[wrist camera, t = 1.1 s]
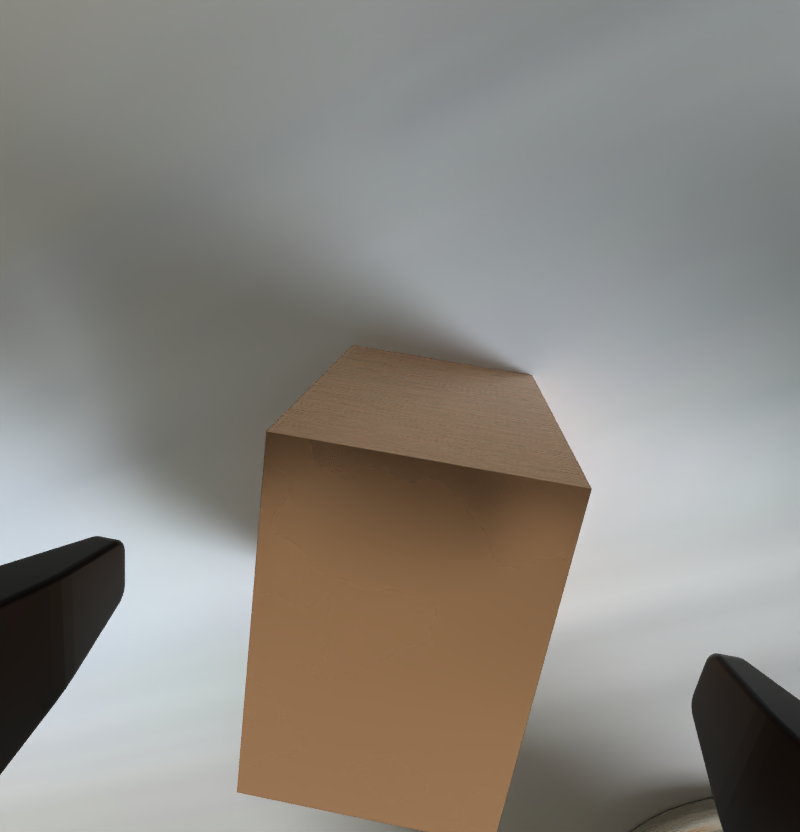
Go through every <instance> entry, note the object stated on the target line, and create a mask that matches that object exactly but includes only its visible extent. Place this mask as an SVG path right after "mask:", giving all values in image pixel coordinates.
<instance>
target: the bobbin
mask: <svg viewBox="0 0 800 832" xmlns="http://www.w3.org/2000/svg"><path fill="white" fill-rule="evenodd" d="M633 832H723V829H722V826H721V823H720V820H719V816H718V813H717V809H716V806H715V802H714V798H713V799H707V800H702V801H698V802H694V803H690V804H686V805H683V806H680V807H677V808H675V809H672V810H669V811H667V812H665V813H663V814H660V815H658V816H656V817H654V818H652V819H650V820H649V821H647V822H646V823H644V824H642V825H641V826H639V827H638V828H636V829H635V830H634V831H633Z"/></svg>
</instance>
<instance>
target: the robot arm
mask: <svg viewBox="0 0 800 832" xmlns="http://www.w3.org/2000/svg"><path fill="white" fill-rule="evenodd" d="M124 588H125V549H124V545H123V543H122V542H121V541H120V540H116V539H110V538H105V537H100V536H94V537H91V538H87V539H84V540H81V541H78V542H75V543H71V544H68V545H65V546H62V547H59V548H55V549H52V550H49V551H46V552H43V553H39V554H36V555H33V556H30V557H26V558H23V559H20V560H17V561H14V562H10V563H7V564H4V565H1V566H0V774H1V773H2V772H3V771H4V769H5V768H6V767H7V765H8V764H9V763H10V761H11V760H12V759H13V757H14V756H15V755H16V754H17V752H18V751H19V750H20V748H21V747H22V746H23V744H24V743H25V742H26V740H27V739H28V738H29V737H30V735H31V734H32V733H33V731H34V730H35V729H36V727H37V726H38V725H39V723H40V722H41V721H42V720H43V718H44V717H45V716H46V714H47V713H48V712H49V710H50V709H51V708H52V706H53V705H54V704H55V703H56V701H57V700H58V698H59V697H60V696H61V694H62V693H63V692H64V690H65V689H66V687H67V686H68V684H69V683H70V681H71V680H72V678H73V677H74V675H75V674H76V672H77V671H78V669H79V667H80V666H81V664H82V662H83V661H84V659H85V658H86V656H87V654H88V653H89V651H90V650H91V648H92V646H93V645H94V643H95V641H96V640H97V638H98V637H99V635H100V633H101V632H102V630H103V629H104V627H105V625H106V624H107V622H108V620H109V619H110V617H111V616H112V614H113V612H114V611H115V609H116V608H117V606H118V604H119V603H120V601H121V598H122V596H123V593H124ZM692 714H693V719H694V723H695V727H696V731H697V735H698V739H699V743H700V747H701V751H702V755H703V759H704V762H705V766H706V770H707V774H708V778H709V782H710V786H711V790H712V794H713V798H714V802H715V806H716V809H717V813H718V816H719V820H720V823H721V826H722V829H723V832H800V700H799V699H797V698H796V697H795V696H793V695H792V694H791V693H789V692H788V691H786V690H785V689H784V688H782V687H781V686H780V685H778V684H777V683H775V682H774V681H773V680H771V679H770V678H769V677H767V676H766V675H765V674H763V673H762V672H760V671H759V670H758V669H756V668H755V667H754V666H752V665H751V664H749V663H748V662H747V661H745V660H744V659H741V658H739V657H734V656H728V655H723V654H717V653H715V654H712V655H710V656H709V657H708V659H707V661H706V663H705V665H704V668H703V671H702V673H701V676H700V678H699V681H698V684H697V686H696V689H695V691H694V694H693V698H692Z"/></svg>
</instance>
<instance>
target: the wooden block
mask: <svg viewBox="0 0 800 832" xmlns="http://www.w3.org/2000/svg"><path fill="white" fill-rule="evenodd" d="M590 493H591V487H590V485H589V483H588V481H587V479H586V477H585V475H584V473H583V471H582V469H581V467H580V466H579V464H578V462H577V460H576V458H575V456H574V454H573V452H572V450H571V448H570V446H569V445H568V443H567V441H566V439H565V437H564V435H563V433H562V431H561V429H560V427H559V425H558V423H557V422H556V420H555V418H554V416H553V414H552V412H551V410H550V408H549V406H548V404H547V402H546V401H545V399H544V397H543V395H542V393H541V391H540V389H539V387H538V385H537V383H536V381H535V380H534V378H533V376H532V375H526V374H520V373H514V372H508V371H502V370H496V369H490V368H484V367H478V366H472V365H466V364H460V363H455V362H449V361H443V360H437V359H431V358H425V357H419V356H413V355H407V354H401V353H395V352H389V351H383V350H377V349H371V348H365V347H359V346H353V345H352V346H351V347H350V348H349V349H348V350H347V351H346V352H345V353H344V354H343V355H342V356H341V357H340V358H339V359H338V360H337V361H336V362H335V363H334V364H333V365H332V366H331V367H330V368H329V369H328V370H327V371H326V372H325V373H324V374H323V375H322V376H321V377H320V378H319V379H318V380H317V381H316V382H315V383H314V384H313V385H312V386H311V387H310V388H309V389H308V390H307V391H306V392H305V393H304V394H303V395H302V396H301V397H300V398H299V399H298V400H297V401H296V402H295V403H294V404H293V405H292V406H291V407H290V408H289V409H288V410H287V411H286V412H285V413H284V414H283V415H282V416H281V417H280V418H279V419H278V420H277V421H276V422H275V423H274V424H273V425H272V426H271V427H270V428H269V429H268V430H267V431H266V443H265V455H264V467H263V479H262V492H261V504H260V516H259V529H258V541H257V553H256V565H255V578H254V590H253V602H252V614H251V627H250V639H249V651H248V663H247V676H246V688H245V700H244V713H243V725H242V737H241V749H240V762H239V774H238V786H237V792H238V793H243V794H248V795H253V796H258V797H262V798H267V799H272V800H277V801H282V802H286V803H291V804H296V805H301V806H305V807H310V808H315V809H320V810H325V811H329V812H334V813H339V814H344V815H348V816H353V817H358V818H363V819H368V820H372V821H377V822H382V823H387V824H392V825H396V826H401V827H406V828H411V829H415V830H420V831H425V832H497V830H498V826H499V822H500V819H501V815H502V811H503V808H504V804H505V801H506V797H507V793H508V790H509V786H510V782H511V779H512V775H513V772H514V768H515V764H516V761H517V757H518V754H519V750H520V746H521V743H522V739H523V735H524V732H525V728H526V725H527V721H528V717H529V714H530V710H531V706H532V703H533V699H534V696H535V692H536V688H537V685H538V681H539V677H540V674H541V670H542V667H543V663H544V659H545V656H546V652H547V648H548V645H549V641H550V638H551V634H552V630H553V627H554V623H555V620H556V616H557V612H558V609H559V605H560V601H561V598H562V594H563V591H564V587H565V583H566V580H567V576H568V572H569V569H570V565H571V562H572V558H573V554H574V551H575V547H576V543H577V540H578V536H579V533H580V529H581V525H582V522H583V518H584V514H585V511H586V507H587V504H588V500H589V496H590Z"/></svg>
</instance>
